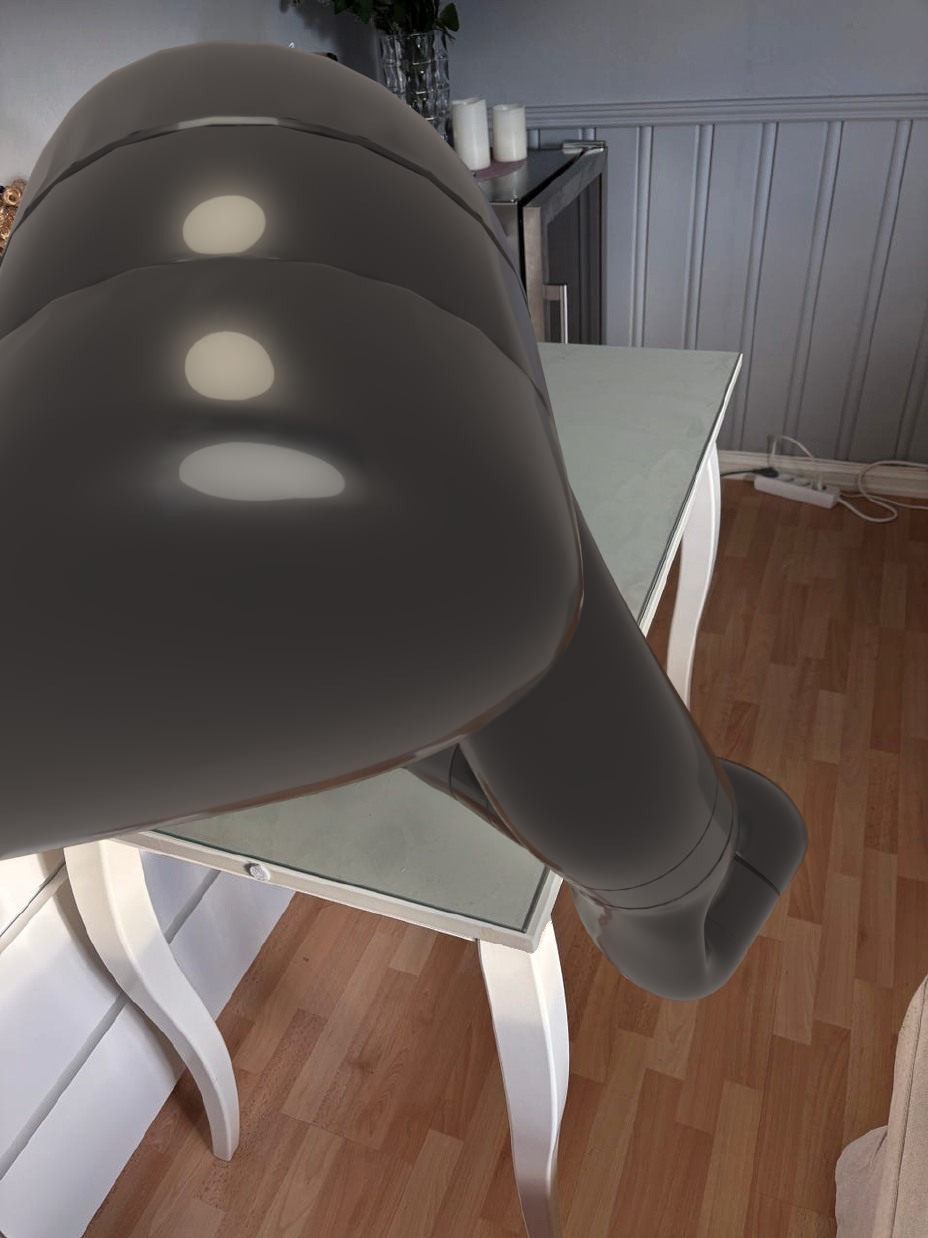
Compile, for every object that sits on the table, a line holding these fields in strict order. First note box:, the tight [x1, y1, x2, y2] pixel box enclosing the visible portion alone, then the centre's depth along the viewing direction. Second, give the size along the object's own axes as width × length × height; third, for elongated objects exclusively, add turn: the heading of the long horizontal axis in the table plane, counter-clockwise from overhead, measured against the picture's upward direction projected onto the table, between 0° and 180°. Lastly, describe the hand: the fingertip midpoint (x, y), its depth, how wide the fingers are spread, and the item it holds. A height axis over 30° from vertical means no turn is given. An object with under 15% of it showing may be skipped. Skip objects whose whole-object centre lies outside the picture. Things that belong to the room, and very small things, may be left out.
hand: (262, 591), depth 60 cm, fingers closed on spotlight, 5 cm apart
